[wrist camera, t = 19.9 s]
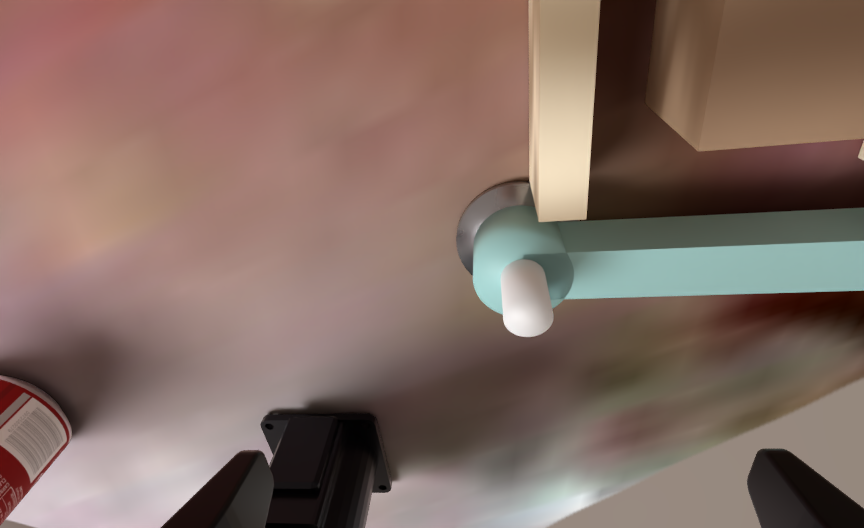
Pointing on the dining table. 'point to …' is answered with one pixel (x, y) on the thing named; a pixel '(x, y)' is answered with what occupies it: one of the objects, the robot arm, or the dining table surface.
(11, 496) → the soda can
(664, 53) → the light wood block
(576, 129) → the cream c-clamp frame
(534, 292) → the link
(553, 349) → the dining table surface
